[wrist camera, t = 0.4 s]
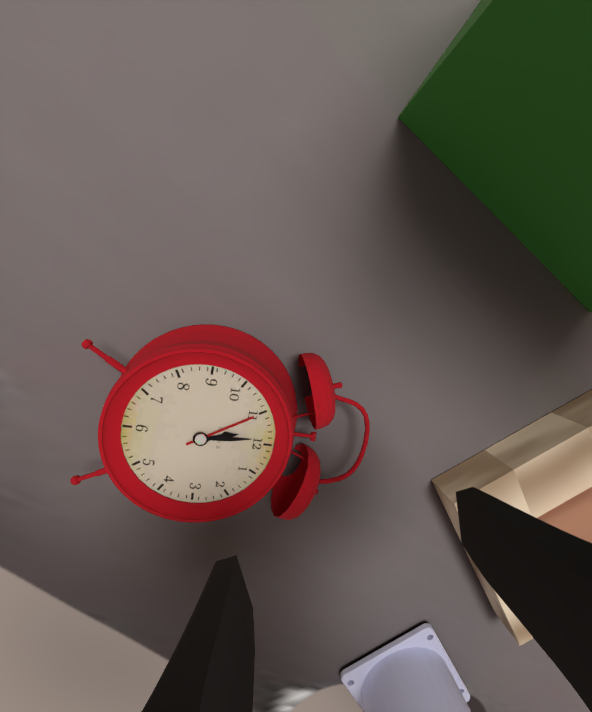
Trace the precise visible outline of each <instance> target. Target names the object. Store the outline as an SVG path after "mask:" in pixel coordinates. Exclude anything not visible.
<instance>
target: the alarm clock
mask: <svg viewBox="0 0 592 712" xmlns="http://www.w3.org/2000/svg"><path fill="white" fill-rule="evenodd" d="M81 345H82V347H83V348H85V349H88V348H89V349H91V350H92V351H93V352H95V353H96V354H97V355H99V356H100V357H102V358H103V359H104V360H105V361H106V362H107V363H109V364H110V365H111V366H113V367H114V368H116V369H117V370H118V371H120V372H121V373H122V374H121V377H120V378H119V379H118V381H117V382H116V383H115V385H114V386H113V388H112V389H111V391H110V393H109V395H108V397H107V399H106V401H105V404H104V407H103V410H102V413H101V417H100V421H99V427H98V445H99V451H100V455H101V459H102V462H103V465H104V467H105V468H102V469H99V470H97V471H96V472H93V473H89V474H86V475H83V476H79V475H77V476H73V477H72V478H71V484H73V485H77V484H79V483H80V482H81V480H84V479H88V478H91V477H94V476H100V475H103V474H106V473H108V475H109V477H110V478H111V480H112V482H113V483H114V484H115V486H116V487H117V488H118V489H119V490H120V492H121V493H122V494H124V495H125V496H126V497H127V498H128V499H129V500H130V501H132V502H133V503H134V504H136V505H137V506H139V507H140V508H142V509H144V510H146V511H148V512H150V513H152V514H154V515H157V516H160V517H162V518H165V519H170V520H175V521H180V522H208V521H215V520H219V519H224V518H227V517H230V516H233V515H235V514H237V513H239V512H241V511H244V510H246V509H247V508H249V507H251V506H252V505H254V504H255V503H256V502H258V501H259V500H260V499H261V498H263V497H264V496H265V495H266V494H267V493H268V492H269V491H270V490H271V489H272V487H273V491H272V496H271V510H272V512H273V514H274V516H276V517H278V518H281V519H286V520H290V519H294V518H297V517H298V516H299V515H301V514H302V512H303V511H304V510H305V509H306V508H307V507H308V506H309V504H310V502H311V501H312V499H313V497H314V496H315V494H317V493H318V489H317V487H318V484H327V483H332V482H337V481H341V480H343V479H345V478H347V477H348V476H350V475H351V474H352V473H354V471H355V470H356V469H357V468H358V466H359V465H360V463H361V461H362V458H363V456H364V453H365V450H366V447H367V444H368V438H369V418H368V414H367V413H366V411H365V409H364V408H363V407H362V406H361V405H360V404H358V403H357V402H355V401H353V400H350V399H347V398H344V397H341V396H338V395H336V394H335V391H334V389H336V388H342V383H341V382H339V383H334V384H333V382H332V378H331V375H330V372H329V369H328V367H327V365H326V364H325V362H324V360H323V359H322V358H321V357H320V356H319V355H316V354H314V353H304V354H300V355H299V366H300V367H301V366H304V365H306V368H307V372H308V376H309V380H310V384H311V389H312V395H310V396H308V397H304V398H305V402H306V407H307V411H308V413H304V414H300V415H297V410H298V409H297V400H296V394H295V390H294V386H293V384H292V381H291V378H290V376H289V374H288V372H287V370H286V368H285V367H284V365H283V364H282V362H281V361H280V359H279V358H278V357H277V356H276V355H275V354H274V352H273V351H272V350H270V349H269V348H268V347H267V346H266V345H265V344H263V343H262V342H261V341H259V340H258V339H256V338H254V337H253V336H251V335H249V334H247V333H245V332H242V331H239V330H237V329H234V328H230V327H226V326H220V325H192V326H187V327H182V328H178V329H175V330H172V331H170V332H167V333H165V334H163V335H161V336H159V337H157V338H155V339H154V340H152V341H151V342H149V343H148V344H146V345H145V346H144V347H143V348H142V349H140V350H139V351H138V352H137V353H136V354H135V355H134V357H133V358H132V359H131V360H130V361H129V363H128V364H127V366H126V367H125V366H123V365H122V364H120V363H119V362H117V361H116V360H115V359H113V358H112V357H110V356H108V355H106V354H105V353H103V352H102V351H100V350H99V349H98V348H96V347H95V346H93V342H92V341H91V340H88V339H86V340H85V341H83V342H82V344H81ZM335 399H336V400H339V401H342V402H346V403H349V404H351V405H353V406H355V407H357V408H358V409H359V410H360V411H361V413H362V414H363V416H364V421H365V434H364V441H363V445H362V448H361V452H360V454H359V456H358V459H357V461H356V462H355V464H354V465H353V467H352V468H351V469H350V470H349V471H347V472H346V473H345V474H343V475H341V476H338V477H334V478H329V479H320V461H319V458H318V456H317V454H316V453H315V451H314V450H313V449H311V448H310V447H309V446H307V445H305V444H303V443H301V444H299V445H296V447H295V448H294V449H296V450H298V451H299V452H300V453H301V455H300V454H298V453H296V452H294V451H292V446H293V437H294V436H300V437H308V438H310V440H311V441H315V439H316V434H317V433H316V432H311V434H305V433H297V432H294V430H295V426H296V420H297V418H298V417H302V416H307V415H309V417H310V421H311V423H312V426H313V428H314V429H315V430H316V429H320V428H323V427H325V426H327V425H329V424H330V422H331V421H332V420H333V418H334V415H335ZM290 453H292V454H294V455H296V456H298V457H300V458H301V463H300V465H299V467H298V468H297V469H296V471H295V472H293V473H292V474H290V475H289V476H282V473H283V471H284V469H285V467H286V465H287V463H288V460H289V457H290Z"/></svg>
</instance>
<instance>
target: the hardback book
mask: <svg viewBox="0 0 592 712" xmlns="http://www.w3.org/2000/svg"><path fill="white" fill-rule="evenodd" d="M398 118H399V119H400V120H401V121H402V122H403V123H404V124H405V125H406V126H407V127H408V128H409V129H410V130H411V131H412V132H413V133H414V134H415V135H416V136H417V137H418V138H419V139H420V140H421V141H422V142H423V143H424V144H425V145H426V146H427V147H428V148H429V149H430V150H431V151H432V152H433V153H434V154H435V155H436V156H437V157H438V158H439V159H440V160H441V161H442V162H443V163H444V164H445V165H446V166H447V167H448V168H449V169H450V170H451V171H452V172H453V174H454V175H455V176H456V177H457V178H458V179H459V180H460V181H461V182H462V183H463V184H464V185H465V186H466V187H467V188H468V189H469V190H470V191H471V192H472V193H473V194H474V195H475V196H476V197H477V198H478V199H479V200H480V201H481V202H482V203H483V204H484V205H485V206H486V207H487V208H488V209H489V210H490V211H491V212H492V213H493V214H494V215H495V216H496V217H497V218H498V219H499V220H500V221H501V222H502V223H503V224H504V225H505V226H506V227H507V228H508V229H509V230H510V231H511V232H512V233H513V234H514V236H515V237H516V238H517V239H518V240H519V241H520V242H521V243H522V244H523V245H524V246H525V247H526V248H527V249H528V250H529V251H530V252H531V253H532V254H533V255H534V256H535V257H536V258H537V259H538V260H539V261H540V262H541V263H542V264H543V265H544V266H545V267H546V268H547V269H548V270H549V271H550V272H551V273H552V274H553V275H554V276H555V277H556V278H557V279H558V280H559V281H560V282H561V283H562V284H563V285H564V286H565V287H566V288H567V289H568V290H569V291H570V292H571V293H572V294H573V295H574V296H575V298H576V299H577V300H578V301H579V302H580V303H581V304H582V305H583V306H584V307H585V308H586V309H587V310H588V311H589V312H592V0H481V2H480V3H479V5H478V6H477V7H476V9H475V10H474V12H473V13H472V14H471V16H470V17H469V19H468V20H467V21H466V23H465V24H464V26H463V27H462V28H461V30H460V31H459V33H458V34H457V35H456V37H455V38H454V40H453V41H452V42H451V44H450V45H449V47H448V48H447V49H446V51H445V52H444V54H443V55H442V56H441V58H440V59H439V61H438V62H437V63H436V65H435V66H434V68H433V69H432V70H431V72H430V73H429V75H428V76H427V77H426V79H425V80H424V82H423V83H422V84H421V86H420V87H419V89H418V90H417V92H416V93H415V94H414V96H413V97H412V99H411V100H410V101H409V103H408V104H407V106H406V107H405V108H404V110H403V111H402V113H401V114H400V115H399V117H398Z"/></svg>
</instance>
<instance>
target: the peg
mask: <svg viewBox="0 0 592 712" xmlns="http://www.w3.org/2000/svg"><path fill="white" fill-rule="evenodd" d="M538 519H540V520H542V521H544V522H546V523H548V524H550V525H552V526H554V527H557V528H559V529H561V530H563V531H565V532H567V533H570V534H572V535H574V536H576V537H579V538H581V539H583V540H585V541H588V542H590V543H592V487H590V488H589V489H587V490H585V491H583V492H582V493H580V494H578V495H576V496H575V497H573V498H571V499H569V500H567V501H566V502H564V503H562V504H560V505H559V506H557V507H555V508H553V509H552V510H550V511H548V512H546V513H545V514H543V515H541V516H539V517H538Z"/></svg>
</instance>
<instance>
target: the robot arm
mask: <svg viewBox="0 0 592 712" xmlns="http://www.w3.org/2000/svg"><path fill="white" fill-rule="evenodd" d="M456 500H457V509H458V517H459V526H460V534H461V543H462V545H463V547H464V548H465V550H466V551H467V553H468V554H469V556H470V557H471V559H472V561H473V562H474V564H475V565H476V566H477V568H478V569H479V571H480V572H481V574H482V575H483V577H484V578H485V579H486V581H487V582H488V583H489V584H490V586H491V587H492V588H493V589H494V590H495V592H496V593H497V594H498V595H499V597H500V598H501V599H502V600H503V601H504V603H505V604H506V605H507V606H508V608H509V609H510V610H511V611H512V612H513V614H514V615H515V616H516V617H517V618H518V620H519V621H520V622H521V623H522V624H523V626H524V627H525V628H526V629H527V631H528V632H529V633H530V634H531V635H532V637H533V638H534V639H535V640H536V641H537V643H538V644H539V645H540V646H541V647H542V649H543V650H544V651H545V652H546V654H547V655H548V656H549V657H550V658H551V660H552V661H553V662H554V663H555V664H556V666H557V667H558V668H559V670H560V671H561V672H562V673H563V675H564V676H565V677H566V679H567V680H568V681H569V682H570V684H571V685H572V686H573V688H574V689H575V690H576V692H577V693H578V695H579V696H580V697H581V699H582V700H583V701H584V703H585V704H586V706H587V707H588V708H589V710H590V711H591V712H592V543H590V542H588V541H585V540H583V539H581V538H579V537H576V536H574V535H572V534H570V533H567V532H565V531H563V530H561V529H559V528H557V527H554V526H552V525H550V524H548V523H546V522H544V521H542V520H540V519H538V518H536V517H534V516H532V515H529V514H527V513H525V512H523V511H521V510H519V509H517V508H515V507H513V506H511V505H509V504H507V503H505V502H503V501H501V500H499V499H497V498H495V497H493V496H491V495H489V494H487V493H485V492H483V491H481V490H479V489H477V488H475V487H470V488H467V489H464V490H460V491H457V492H456ZM254 659H255V643H254V621H253V607H252V604H251V600H250V597H249V594H248V591H247V588H246V584H245V581H244V578H243V575H242V572H241V569H240V565H239V562H238V559H237V556H233V557H229V558H226V559H223V560H219V561H217V562H216V563H215V565H214V567H213V569H212V571H211V574H210V576H209V578H208V581H207V583H206V585H205V587H204V590H203V592H202V594H201V596H200V599H199V601H198V603H197V605H196V607H195V610H194V612H193V614H192V616H191V618H190V620H189V622H188V624H187V626H186V629H185V631H184V633H183V635H182V637H181V639H180V641H179V643H178V645H177V647H176V649H175V651H174V653H173V655H172V657H171V659H170V661H169V662H168V664H167V666H166V668H165V670H164V672H163V674H162V676H161V678H160V680H159V681H158V683H157V685H156V687H155V689H154V691H153V693H152V695H151V696H150V698H149V700H148V702H147V703H146V705H145V707H144V709H143V711H142V712H252V706H253V683H254ZM340 676H341V680H342V682H343V683H344V685H345V686H346V688H347V689H348V690H349V692H350V693H351V695H352V696H353V697H354V699H355V700H356V701H357V703H358V704H359V706H360V707H361V709H362V710H363V711H364V712H471V711H470V709H469V707H468V705H467V703H466V702H467V701H469V699H470V694H469V692H468V691H467V689H466V687H465V685H464V683H463V682H462V680H461V678H460V676H459V675H458V673H457V671H456V669H455V667H454V666H453V664H452V662H451V660H450V658H449V657H448V655H447V653H446V651H445V650H444V648H443V646H442V644H441V642H440V641H439V639H438V637H437V635H436V634H435V632H434V630H433V628H432V626H431V625H430V624H428V623H424V624H422V625H420V626H419V627H417V628H415V629H413V630H412V631H410V632H408V633H406V634H405V635H403V636H401V637H399V638H398V639H396V640H394V641H392V642H391V643H389V644H387V645H385V646H384V647H382V648H380V649H378V650H377V651H375V652H373V653H371V654H370V655H368V656H366V657H364V658H363V659H361V660H359V661H357V662H356V663H354V664H352V665H350V666H349V667H347V668H345V669H344V670H342V672H341V674H340Z"/></svg>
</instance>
